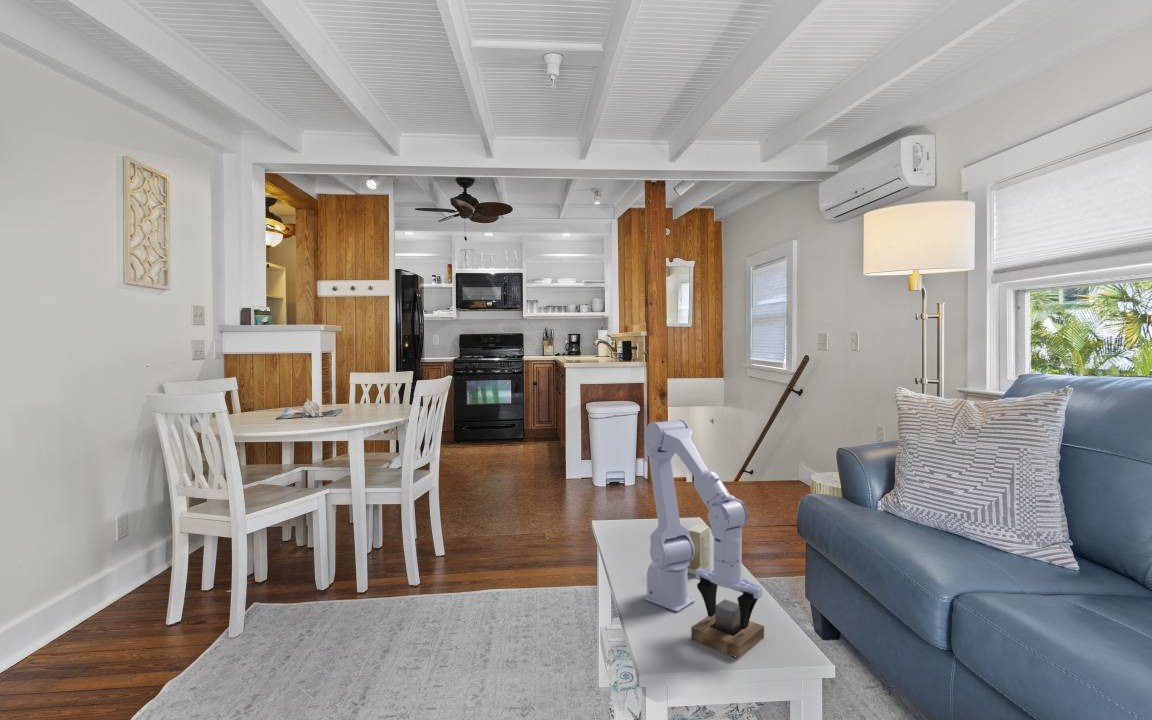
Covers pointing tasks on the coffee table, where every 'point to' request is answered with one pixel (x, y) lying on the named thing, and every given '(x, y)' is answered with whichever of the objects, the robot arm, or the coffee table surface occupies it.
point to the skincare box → (700, 548)
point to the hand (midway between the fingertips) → (727, 621)
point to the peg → (727, 617)
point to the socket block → (727, 637)
